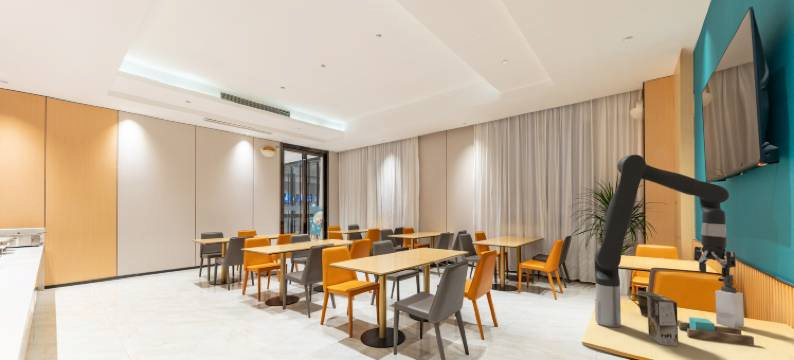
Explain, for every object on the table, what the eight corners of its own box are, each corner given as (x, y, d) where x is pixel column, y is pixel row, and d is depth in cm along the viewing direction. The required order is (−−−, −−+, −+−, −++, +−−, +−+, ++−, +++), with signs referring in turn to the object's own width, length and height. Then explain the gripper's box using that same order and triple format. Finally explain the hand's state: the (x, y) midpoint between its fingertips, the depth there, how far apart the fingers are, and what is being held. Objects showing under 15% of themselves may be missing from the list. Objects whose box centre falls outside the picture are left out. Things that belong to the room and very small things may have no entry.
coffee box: (679, 346, 130) (677, 302, 131) (659, 344, 131) (658, 301, 132) (665, 336, 139) (664, 295, 140) (647, 335, 140) (646, 294, 141)
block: (696, 336, 139) (695, 321, 140) (689, 331, 145) (689, 317, 145) (714, 339, 137) (714, 323, 137) (707, 333, 143) (707, 318, 143)
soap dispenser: (713, 324, 154) (711, 273, 155) (725, 322, 156) (724, 272, 158) (731, 329, 147) (729, 277, 149) (744, 327, 150) (742, 275, 151)
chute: (688, 337, 138) (688, 329, 139) (679, 328, 148) (678, 321, 148) (754, 345, 131) (753, 337, 131) (739, 335, 140) (739, 328, 141)
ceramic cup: (661, 314, 165) (660, 293, 166) (664, 321, 157) (663, 298, 157) (628, 310, 172) (628, 289, 173) (629, 315, 164) (629, 294, 164)
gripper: (688, 232, 148) (688, 270, 148) (724, 236, 134) (724, 279, 134) (703, 232, 149) (703, 270, 149) (741, 237, 135) (741, 279, 135)
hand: (713, 274), depth 141 cm, fingers open, 8 cm apart
